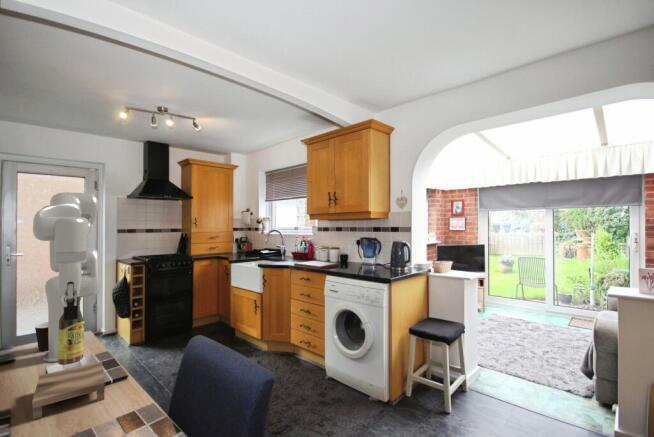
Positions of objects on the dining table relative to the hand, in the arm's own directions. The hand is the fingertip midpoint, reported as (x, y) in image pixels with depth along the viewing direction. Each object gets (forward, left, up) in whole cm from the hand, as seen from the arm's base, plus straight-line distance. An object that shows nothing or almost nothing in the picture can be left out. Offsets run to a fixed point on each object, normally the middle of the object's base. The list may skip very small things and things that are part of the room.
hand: (71, 316), depth 97 cm
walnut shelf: (0, 0, -24) cm, 24 cm away
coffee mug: (-51, -7, -25) cm, 57 cm away
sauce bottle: (0, 0, -14) cm, 14 cm away
